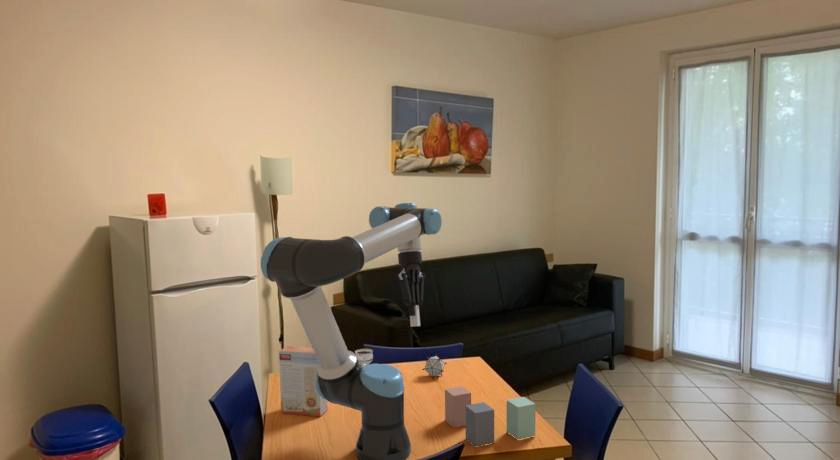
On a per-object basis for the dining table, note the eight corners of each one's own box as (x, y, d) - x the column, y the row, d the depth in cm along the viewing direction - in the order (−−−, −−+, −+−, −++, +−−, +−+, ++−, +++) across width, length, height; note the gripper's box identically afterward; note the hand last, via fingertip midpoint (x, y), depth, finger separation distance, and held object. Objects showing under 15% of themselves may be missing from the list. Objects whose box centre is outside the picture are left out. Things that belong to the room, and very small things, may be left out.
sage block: (535, 437, 166) (535, 403, 166) (517, 441, 164) (517, 407, 163) (523, 428, 172) (523, 396, 171) (506, 432, 170) (506, 399, 169)
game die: (430, 387, 217) (414, 368, 215) (436, 372, 225) (420, 353, 223) (449, 379, 213) (433, 359, 211) (454, 364, 220) (438, 345, 218)
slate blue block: (494, 443, 163) (494, 409, 162) (475, 447, 160) (475, 413, 159) (483, 435, 168) (483, 402, 167) (465, 438, 166) (465, 405, 165)
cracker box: (328, 410, 187) (326, 347, 185) (320, 417, 182) (318, 353, 180) (289, 406, 191) (287, 344, 189) (280, 413, 185) (278, 350, 183)
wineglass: (353, 381, 214) (352, 349, 213) (370, 378, 216) (370, 347, 215) (357, 387, 207) (357, 355, 206) (375, 384, 210) (375, 352, 209)
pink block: (471, 424, 175) (471, 392, 175) (453, 427, 173) (453, 395, 172) (462, 417, 181) (462, 386, 180) (445, 420, 179) (444, 389, 178)
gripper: (411, 253, 191) (417, 325, 188) (387, 252, 180) (393, 328, 177) (430, 251, 187) (436, 324, 184) (407, 249, 176) (413, 327, 173)
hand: (415, 326), depth 180 cm, fingers closed
